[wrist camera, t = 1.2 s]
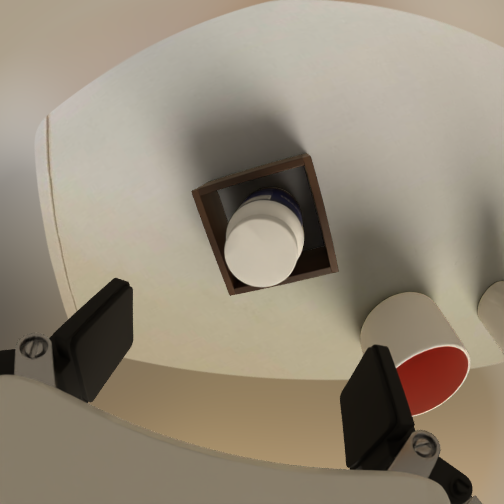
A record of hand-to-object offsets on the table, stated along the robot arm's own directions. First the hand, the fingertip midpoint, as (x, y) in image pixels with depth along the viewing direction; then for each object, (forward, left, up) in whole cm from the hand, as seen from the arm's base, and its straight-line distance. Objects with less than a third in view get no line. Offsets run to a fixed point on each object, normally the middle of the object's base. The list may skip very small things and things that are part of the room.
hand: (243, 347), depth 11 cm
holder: (0, 0, -19) cm, 19 cm away
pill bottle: (0, 0, -19) cm, 19 cm away
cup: (+16, +11, -19) cm, 27 cm away
